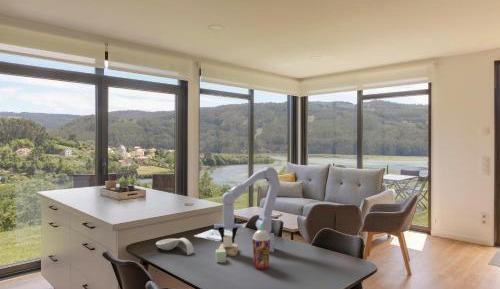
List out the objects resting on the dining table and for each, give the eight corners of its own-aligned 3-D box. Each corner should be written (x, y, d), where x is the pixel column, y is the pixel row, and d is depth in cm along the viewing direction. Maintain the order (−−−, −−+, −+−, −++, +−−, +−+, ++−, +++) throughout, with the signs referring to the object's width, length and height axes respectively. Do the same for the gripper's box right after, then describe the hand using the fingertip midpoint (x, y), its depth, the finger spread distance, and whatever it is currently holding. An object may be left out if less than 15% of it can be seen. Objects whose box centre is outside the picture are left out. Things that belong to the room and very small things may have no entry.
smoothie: (264, 272, 152) (264, 227, 151) (248, 268, 156) (248, 224, 156) (273, 266, 159) (273, 223, 158) (258, 262, 163) (258, 220, 163)
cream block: (233, 244, 179) (232, 234, 179) (232, 247, 175) (232, 237, 175) (224, 244, 180) (224, 234, 180) (223, 247, 175) (223, 237, 175)
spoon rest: (151, 249, 184) (151, 236, 183) (167, 243, 193) (167, 231, 193) (183, 257, 171) (183, 243, 171) (199, 251, 181) (199, 237, 180)
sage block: (224, 258, 169) (224, 248, 168) (225, 262, 164) (225, 251, 164) (215, 259, 168) (215, 249, 168) (216, 262, 163) (216, 252, 163)
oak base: (237, 249, 182) (237, 244, 182) (235, 255, 173) (235, 249, 173) (221, 249, 183) (221, 243, 183) (218, 255, 174) (218, 249, 174)
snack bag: (220, 242, 196) (220, 239, 196) (192, 237, 207) (192, 234, 207) (238, 234, 212) (238, 231, 212) (212, 230, 223) (212, 226, 223)
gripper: (212, 217, 174) (212, 244, 174) (241, 218, 173) (241, 244, 173) (215, 214, 181) (215, 240, 181) (242, 214, 180) (242, 240, 180)
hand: (228, 242), depth 178 cm, fingers closed on cream block, 4 cm apart
